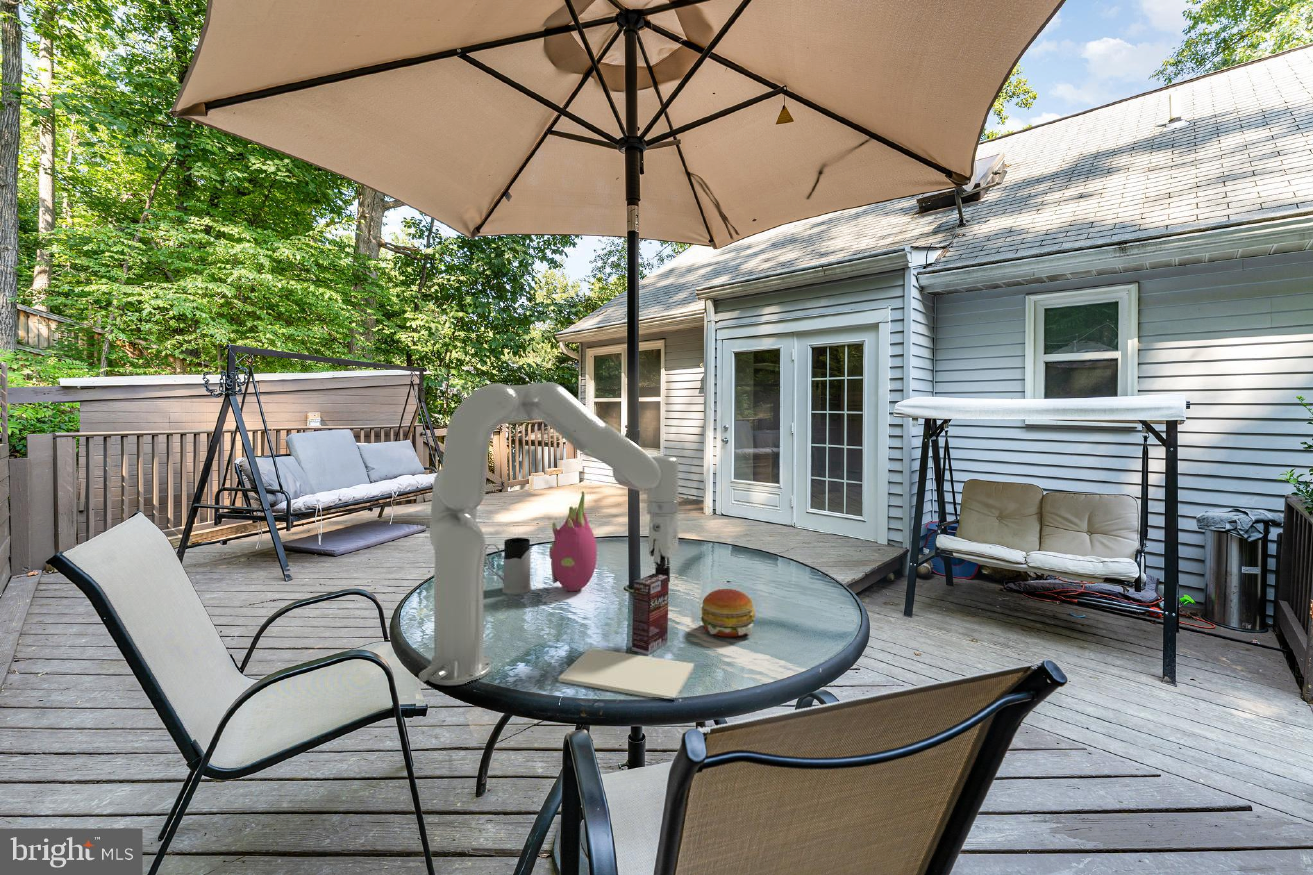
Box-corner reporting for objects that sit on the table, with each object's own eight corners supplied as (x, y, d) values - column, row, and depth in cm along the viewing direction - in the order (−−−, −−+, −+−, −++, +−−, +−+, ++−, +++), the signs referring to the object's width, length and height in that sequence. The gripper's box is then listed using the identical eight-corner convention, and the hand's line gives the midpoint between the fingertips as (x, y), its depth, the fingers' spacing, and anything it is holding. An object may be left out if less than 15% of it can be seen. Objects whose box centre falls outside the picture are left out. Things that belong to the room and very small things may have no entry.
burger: (723, 616, 149) (724, 579, 149) (766, 631, 140) (767, 591, 139) (689, 629, 140) (690, 590, 139) (732, 646, 130) (733, 603, 130)
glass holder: (527, 594, 166) (528, 543, 165) (479, 593, 166) (479, 543, 165) (534, 585, 174) (534, 537, 174) (489, 584, 175) (489, 536, 174)
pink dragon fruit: (561, 580, 180) (561, 487, 179) (602, 582, 178) (603, 488, 177) (542, 598, 162) (542, 494, 161) (588, 600, 160) (588, 496, 159)
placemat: (674, 701, 104) (674, 697, 104) (558, 681, 112) (558, 677, 112) (693, 667, 119) (694, 663, 119) (589, 651, 126) (589, 647, 126)
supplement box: (649, 656, 124) (649, 584, 123) (631, 650, 127) (631, 581, 126) (669, 642, 131) (670, 575, 131) (651, 638, 134) (652, 572, 133)
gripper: (668, 513, 127) (668, 593, 128) (685, 503, 141) (685, 575, 142) (637, 511, 130) (637, 590, 130) (657, 502, 144) (657, 573, 145)
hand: (662, 582), depth 136 cm, fingers closed
